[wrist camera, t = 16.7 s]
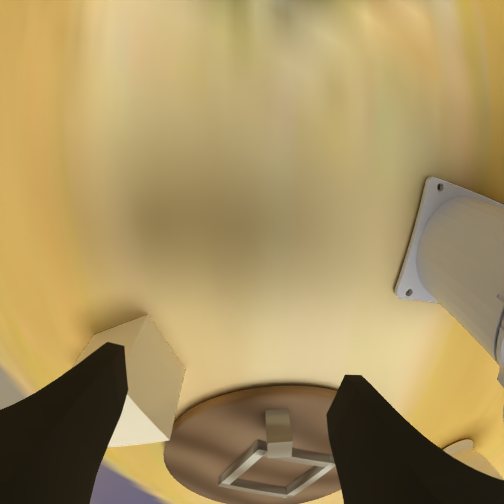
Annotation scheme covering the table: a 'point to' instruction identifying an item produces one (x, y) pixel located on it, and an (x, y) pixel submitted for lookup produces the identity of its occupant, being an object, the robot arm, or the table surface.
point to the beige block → (144, 382)
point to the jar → (471, 457)
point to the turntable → (256, 446)
